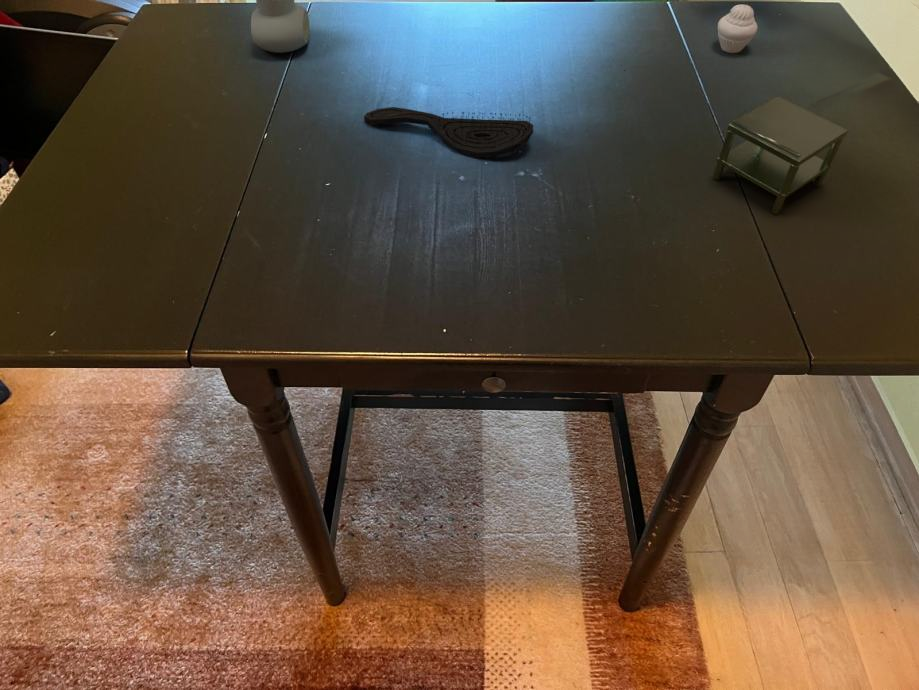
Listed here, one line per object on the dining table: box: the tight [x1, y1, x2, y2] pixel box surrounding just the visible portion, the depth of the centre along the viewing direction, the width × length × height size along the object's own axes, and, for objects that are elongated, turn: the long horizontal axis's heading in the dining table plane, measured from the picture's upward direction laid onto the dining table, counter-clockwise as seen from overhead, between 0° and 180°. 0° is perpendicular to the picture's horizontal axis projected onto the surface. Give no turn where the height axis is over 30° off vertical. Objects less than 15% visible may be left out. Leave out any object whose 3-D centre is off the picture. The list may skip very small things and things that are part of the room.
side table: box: [712, 96, 849, 216], centre depth 86 cm, size 10×10×9 cm
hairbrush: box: [363, 106, 535, 159], centre depth 96 cm, size 8×4×25 cm
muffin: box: [717, 4, 759, 54], centre depth 109 cm, size 6×6×7 cm
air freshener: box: [250, 0, 310, 54], centre depth 111 cm, size 11×8×10 cm
